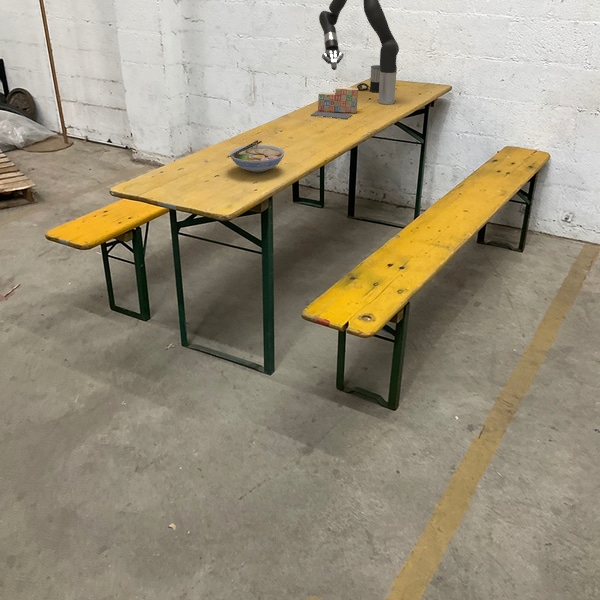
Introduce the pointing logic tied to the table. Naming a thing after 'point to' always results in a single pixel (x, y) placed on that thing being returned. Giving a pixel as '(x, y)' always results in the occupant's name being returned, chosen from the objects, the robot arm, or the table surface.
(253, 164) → the ramen bowl
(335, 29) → the robot arm
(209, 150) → the table surface
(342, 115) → the charcoal rubber mat
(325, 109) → the stack of blocks
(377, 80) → the milk frother
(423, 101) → the table surface
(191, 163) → the table surface
